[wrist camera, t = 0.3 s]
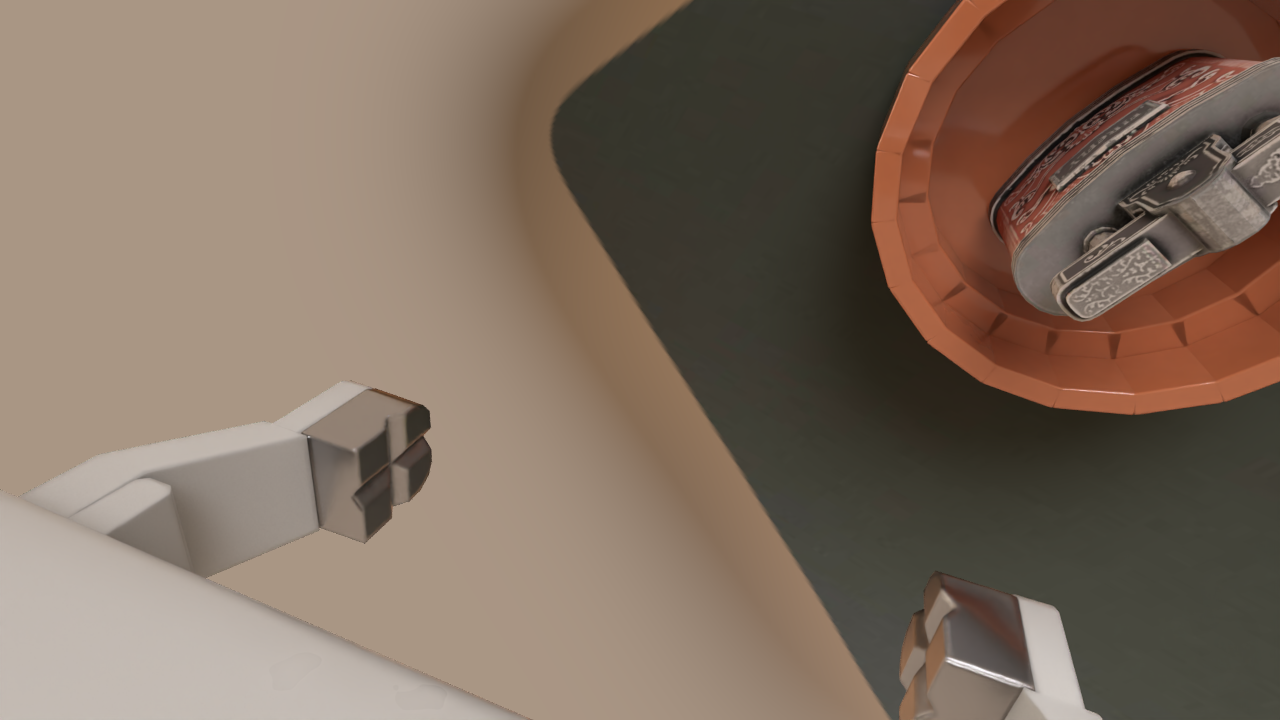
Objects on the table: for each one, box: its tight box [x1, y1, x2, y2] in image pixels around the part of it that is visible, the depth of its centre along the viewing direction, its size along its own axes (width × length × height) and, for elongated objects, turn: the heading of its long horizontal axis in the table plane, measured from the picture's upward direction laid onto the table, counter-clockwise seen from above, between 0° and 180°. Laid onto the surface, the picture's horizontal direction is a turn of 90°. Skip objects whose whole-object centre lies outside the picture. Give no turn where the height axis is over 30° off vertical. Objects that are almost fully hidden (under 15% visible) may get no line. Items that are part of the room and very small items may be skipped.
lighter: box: [988, 49, 1280, 322], centre depth 20 cm, size 8×3×10 cm, turn 140°
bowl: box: [871, 0, 1280, 415], centre depth 22 cm, size 15×15×6 cm
